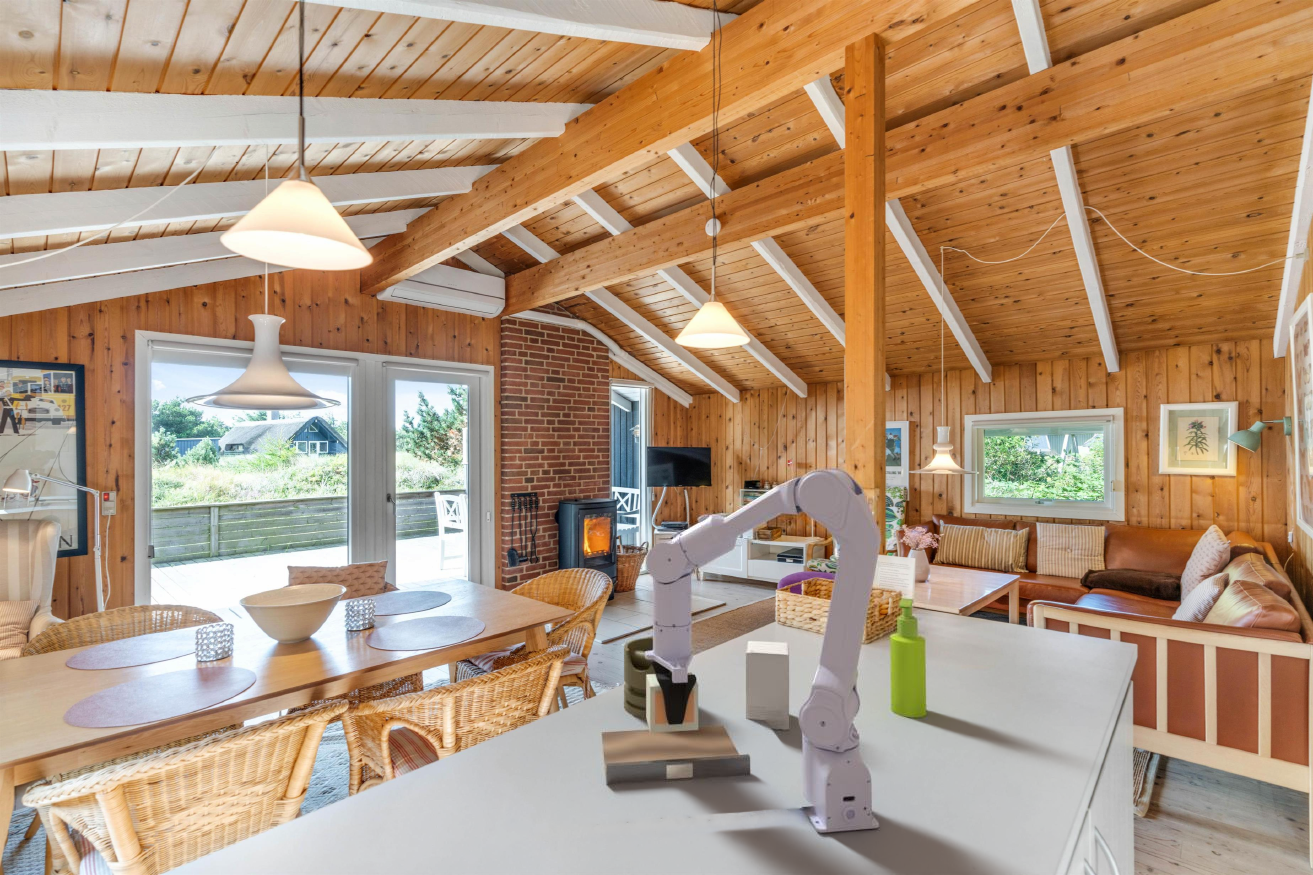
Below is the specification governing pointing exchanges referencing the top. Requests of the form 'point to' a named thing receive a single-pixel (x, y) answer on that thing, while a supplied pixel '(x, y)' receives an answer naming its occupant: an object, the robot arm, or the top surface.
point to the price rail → (677, 769)
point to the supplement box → (768, 683)
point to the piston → (636, 675)
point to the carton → (657, 708)
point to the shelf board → (666, 745)
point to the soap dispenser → (908, 665)
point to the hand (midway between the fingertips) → (672, 714)
